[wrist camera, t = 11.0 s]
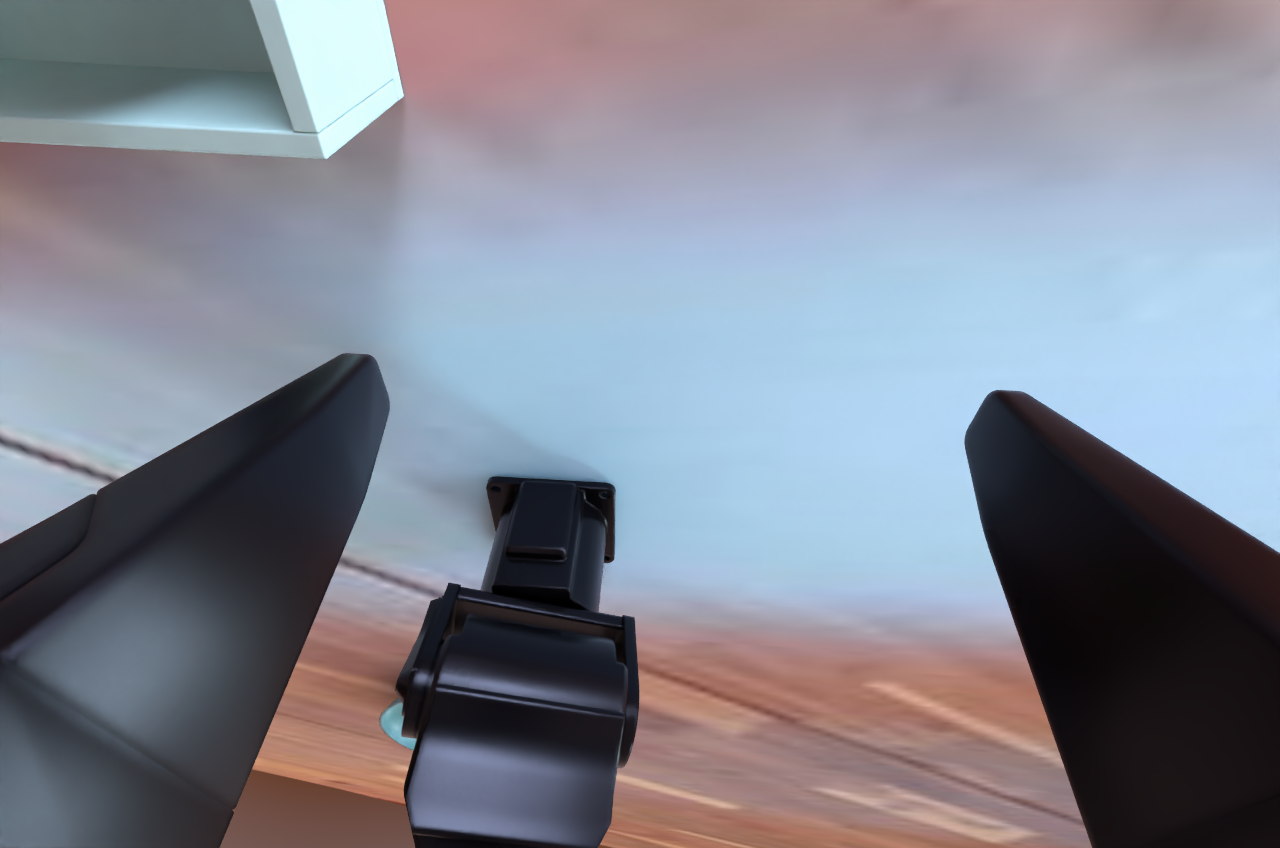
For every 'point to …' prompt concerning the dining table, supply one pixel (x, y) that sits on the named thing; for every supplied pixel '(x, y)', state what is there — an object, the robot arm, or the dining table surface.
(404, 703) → the robot arm
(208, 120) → the bin
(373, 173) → the dining table surface
